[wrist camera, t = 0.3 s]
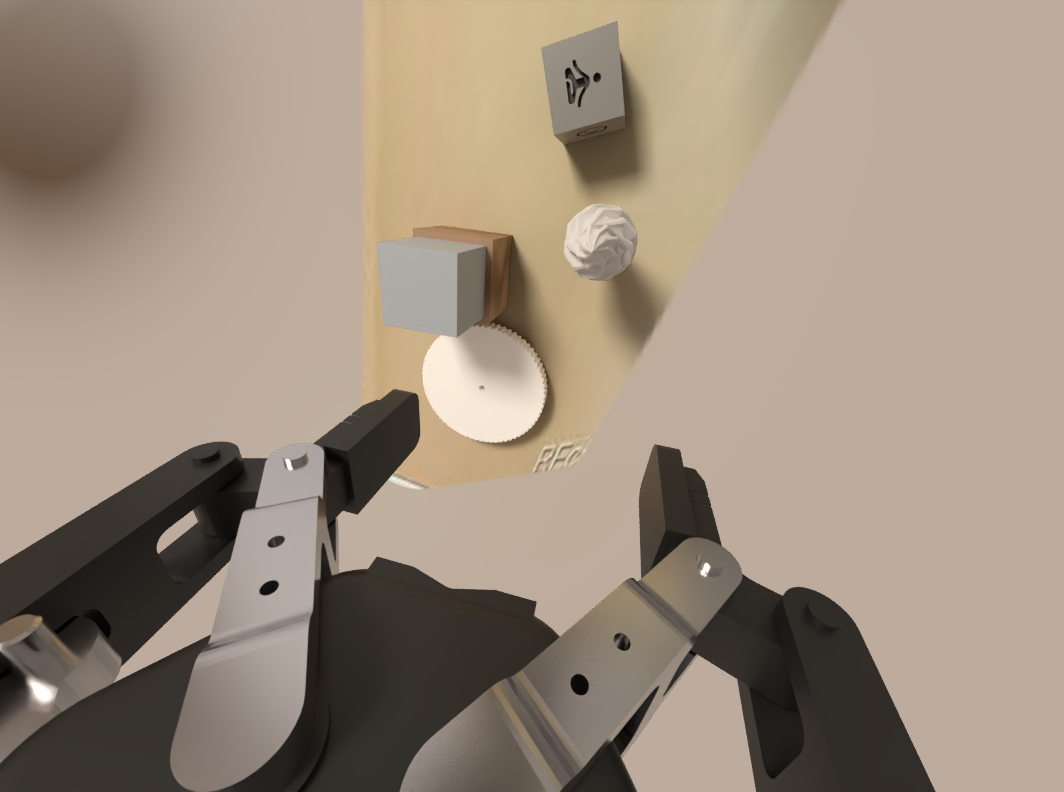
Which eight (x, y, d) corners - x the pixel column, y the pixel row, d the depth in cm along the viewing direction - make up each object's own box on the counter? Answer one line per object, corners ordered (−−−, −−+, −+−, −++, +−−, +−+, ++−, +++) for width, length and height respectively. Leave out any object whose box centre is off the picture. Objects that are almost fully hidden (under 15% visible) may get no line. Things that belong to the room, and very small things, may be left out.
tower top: (418, 236, 32) (376, 242, 27) (486, 245, 31) (457, 253, 26) (420, 307, 35) (383, 325, 29) (483, 317, 34) (456, 337, 28)
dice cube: (554, 71, 30) (541, 47, 25) (619, 49, 28) (617, 20, 24) (564, 145, 32) (553, 135, 27) (625, 128, 30) (624, 115, 26)
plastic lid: (440, 301, 41) (430, 306, 38) (564, 342, 40) (561, 350, 37) (425, 409, 47) (415, 419, 45) (531, 446, 46) (526, 458, 44)
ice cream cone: (642, 211, 33) (653, 213, 19) (625, 271, 35) (624, 309, 22) (585, 199, 33) (557, 193, 20) (572, 259, 35) (539, 289, 22)
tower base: (443, 225, 37) (412, 228, 32) (512, 235, 36) (492, 239, 31) (443, 297, 40) (415, 311, 35) (507, 308, 39) (488, 323, 34)
